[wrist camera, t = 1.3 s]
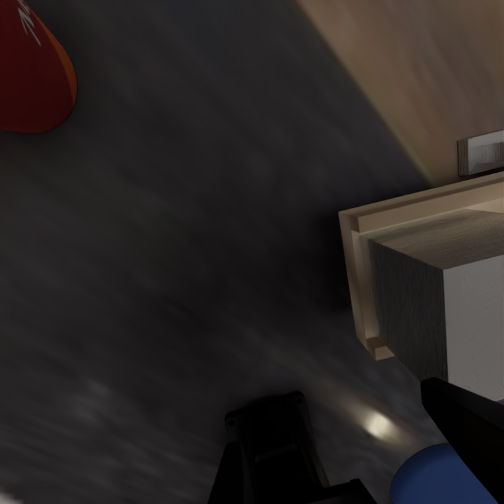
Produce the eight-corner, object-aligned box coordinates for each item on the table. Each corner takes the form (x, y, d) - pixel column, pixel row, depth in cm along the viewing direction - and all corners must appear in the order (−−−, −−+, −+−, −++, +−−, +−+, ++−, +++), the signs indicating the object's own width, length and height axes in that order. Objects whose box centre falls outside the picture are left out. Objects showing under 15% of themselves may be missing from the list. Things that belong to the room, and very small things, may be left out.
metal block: (468, 306, 17) (596, 374, 11) (371, 331, 17) (450, 413, 11) (465, 208, 15) (614, 226, 9) (359, 235, 15) (443, 270, 9)
